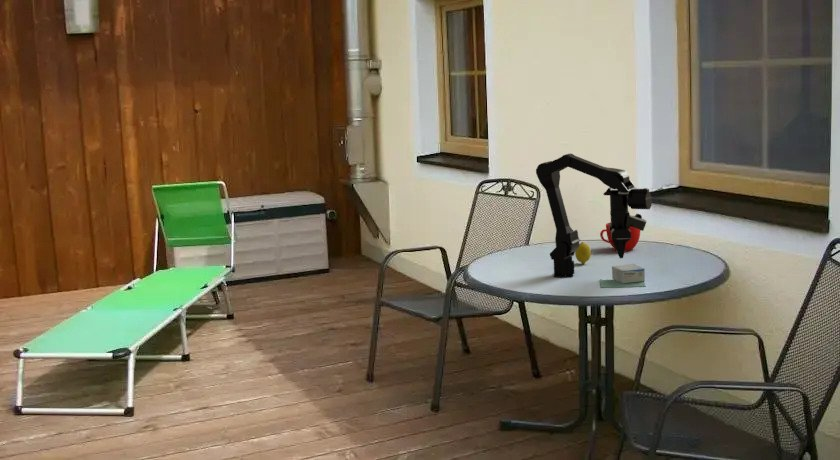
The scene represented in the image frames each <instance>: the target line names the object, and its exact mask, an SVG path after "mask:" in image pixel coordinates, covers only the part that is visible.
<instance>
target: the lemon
mask: <svg viewBox="0 0 840 460" xmlns="http://www.w3.org/2000/svg"><path fill="white" fill-rule="evenodd" d="M580 242H581V241H580ZM580 242H579V247H578V249H577V250H576V251H575V253H574V256H575V259H576V260H577V261H578V262H579V263H581V264H582V265H585V264H586V262H588V261H589V260H591V255H592V250H591V247H590V245H588V244H587V243H585V242H583V241H582V242H581V243H580Z"/></svg>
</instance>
